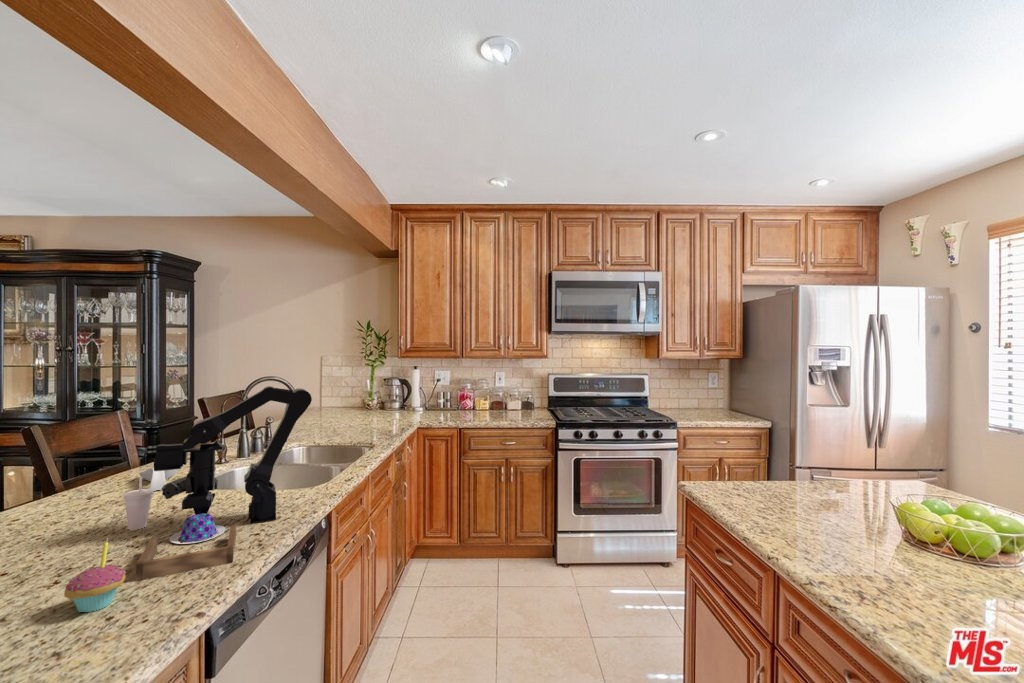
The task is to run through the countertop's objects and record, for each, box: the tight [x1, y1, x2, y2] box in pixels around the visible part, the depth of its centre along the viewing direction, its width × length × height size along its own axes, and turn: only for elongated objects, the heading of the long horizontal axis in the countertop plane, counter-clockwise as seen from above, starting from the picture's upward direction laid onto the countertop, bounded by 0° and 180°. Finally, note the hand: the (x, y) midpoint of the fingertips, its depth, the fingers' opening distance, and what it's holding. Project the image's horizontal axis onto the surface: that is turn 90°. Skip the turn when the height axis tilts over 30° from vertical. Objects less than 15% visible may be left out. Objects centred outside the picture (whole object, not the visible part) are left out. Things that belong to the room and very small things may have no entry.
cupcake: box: [64, 537, 126, 613], centre depth 84 cm, size 9×8×12 cm
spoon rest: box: [138, 467, 179, 492], centre depth 160 cm, size 24×12×7 cm, turn 39°
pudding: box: [169, 513, 226, 545], centre depth 116 cm, size 12×12×5 cm
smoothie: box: [122, 476, 154, 531], centre depth 120 cm, size 6×6×14 cm
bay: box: [134, 524, 237, 581], centre depth 104 cm, size 17×15×4 cm
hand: (200, 523), depth 120 cm, fingers closed
